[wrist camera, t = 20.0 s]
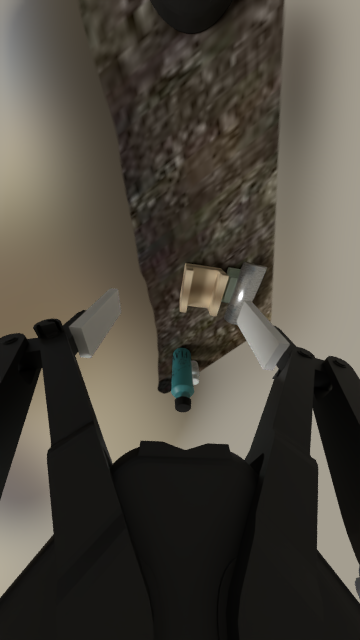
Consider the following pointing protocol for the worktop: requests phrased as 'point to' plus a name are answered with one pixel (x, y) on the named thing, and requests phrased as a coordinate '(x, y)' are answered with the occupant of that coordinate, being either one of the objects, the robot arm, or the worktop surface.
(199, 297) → the wooden bracket
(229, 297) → the v block
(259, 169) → the worktop surface
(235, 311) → the axle
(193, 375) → the pill bottle
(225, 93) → the worktop surface
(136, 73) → the worktop surface
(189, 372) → the beverage bottle
